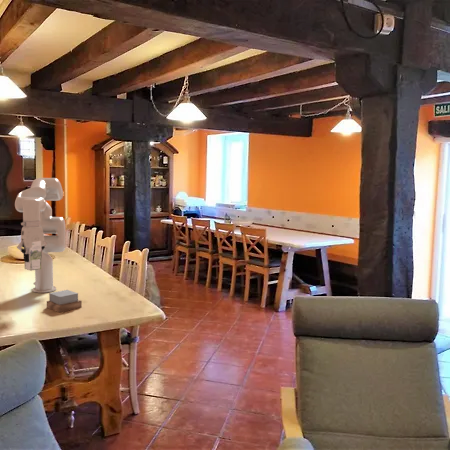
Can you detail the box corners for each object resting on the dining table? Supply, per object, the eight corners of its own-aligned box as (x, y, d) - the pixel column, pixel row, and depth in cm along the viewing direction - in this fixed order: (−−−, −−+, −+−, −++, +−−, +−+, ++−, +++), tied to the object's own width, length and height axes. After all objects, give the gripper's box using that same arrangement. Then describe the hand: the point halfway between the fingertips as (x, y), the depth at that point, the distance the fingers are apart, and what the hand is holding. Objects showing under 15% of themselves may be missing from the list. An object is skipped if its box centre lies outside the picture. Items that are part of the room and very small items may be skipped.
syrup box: (35, 267, 234) (34, 238, 232) (41, 269, 230) (41, 240, 228) (24, 269, 229) (23, 239, 227) (30, 271, 226) (29, 241, 224)
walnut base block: (46, 309, 236) (46, 301, 235) (67, 303, 245) (67, 296, 245) (60, 313, 229) (60, 305, 228) (81, 308, 238) (81, 300, 238)
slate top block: (49, 300, 236) (49, 293, 235) (67, 297, 243) (67, 289, 243) (59, 304, 229) (59, 297, 229) (78, 301, 237) (78, 293, 236)
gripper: (19, 226, 218) (20, 264, 220) (52, 223, 232) (52, 259, 234) (10, 224, 222) (11, 262, 224) (43, 221, 236) (44, 257, 238)
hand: (32, 260), depth 229 cm, fingers closed on syrup box, 5 cm apart
